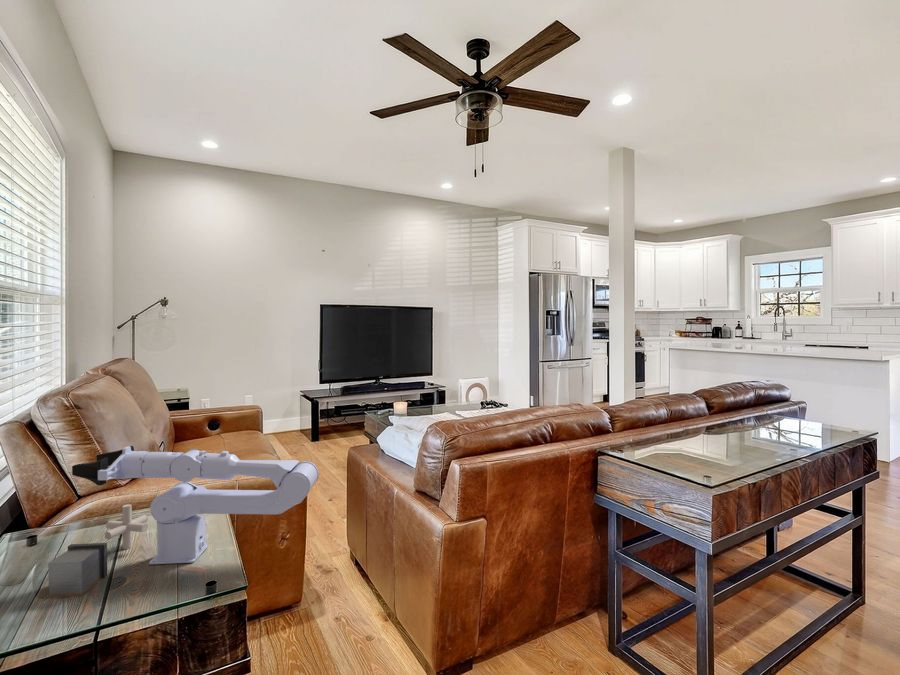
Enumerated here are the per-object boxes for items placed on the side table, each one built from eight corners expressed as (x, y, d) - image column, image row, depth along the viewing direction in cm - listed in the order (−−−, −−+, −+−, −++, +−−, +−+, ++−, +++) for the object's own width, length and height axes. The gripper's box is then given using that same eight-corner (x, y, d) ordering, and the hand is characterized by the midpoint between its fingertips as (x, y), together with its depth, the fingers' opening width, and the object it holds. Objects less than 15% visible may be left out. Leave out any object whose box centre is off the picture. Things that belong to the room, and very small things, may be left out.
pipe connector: (126, 559, 106) (126, 515, 106) (90, 555, 108) (89, 512, 108) (162, 540, 116) (161, 499, 116) (127, 536, 118) (127, 496, 118)
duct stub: (71, 578, 98) (71, 544, 98) (107, 576, 99) (106, 542, 99) (46, 597, 91) (45, 560, 91) (84, 595, 92) (84, 558, 92)
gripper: (165, 438, 114) (107, 438, 113) (128, 457, 100) (61, 456, 99) (165, 467, 115) (107, 467, 114) (128, 490, 100) (61, 489, 99)
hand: (85, 464), depth 106 cm, fingers open, 7 cm apart
